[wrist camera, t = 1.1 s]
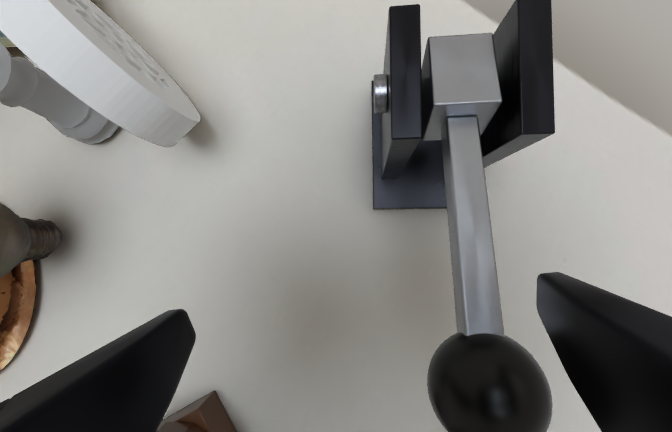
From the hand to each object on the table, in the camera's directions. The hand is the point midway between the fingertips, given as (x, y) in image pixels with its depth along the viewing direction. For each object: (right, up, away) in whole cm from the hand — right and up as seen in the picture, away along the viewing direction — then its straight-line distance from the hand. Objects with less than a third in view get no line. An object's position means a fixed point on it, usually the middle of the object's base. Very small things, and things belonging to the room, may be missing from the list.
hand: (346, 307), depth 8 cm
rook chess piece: (-17, +10, +15) cm, 25 cm away
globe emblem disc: (-16, +15, +15) cm, 27 cm away
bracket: (+5, +7, +13) cm, 15 cm away
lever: (+4, +2, +4) cm, 6 cm away
